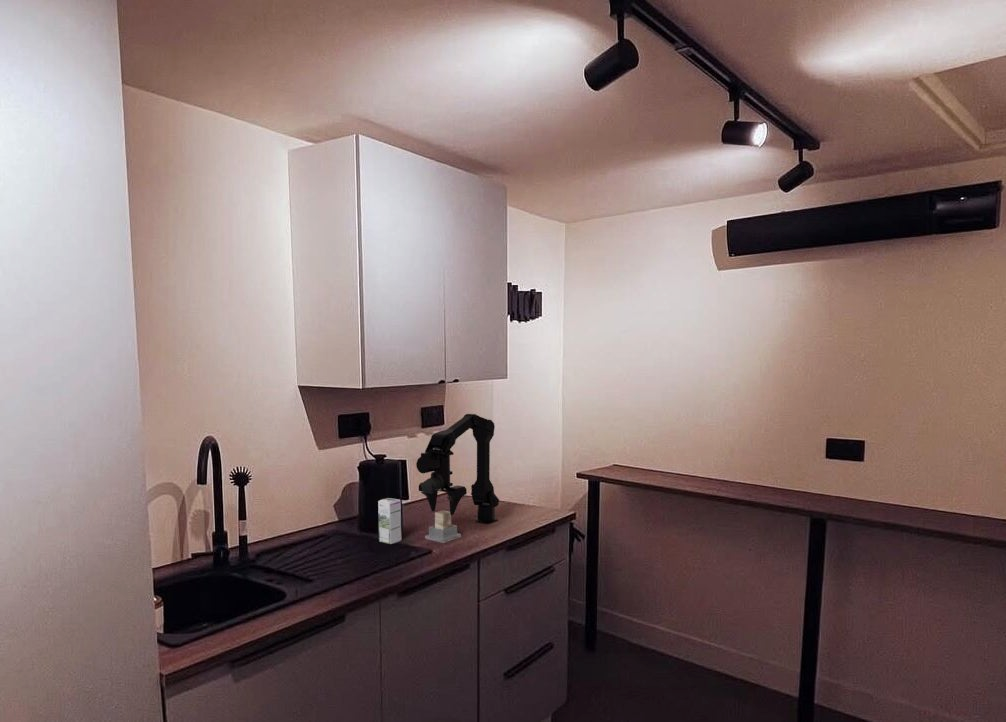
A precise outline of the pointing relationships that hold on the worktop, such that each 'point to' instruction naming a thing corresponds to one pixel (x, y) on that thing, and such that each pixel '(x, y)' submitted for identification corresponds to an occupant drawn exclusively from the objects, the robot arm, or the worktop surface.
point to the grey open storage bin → (443, 534)
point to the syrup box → (389, 520)
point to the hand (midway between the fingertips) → (442, 513)
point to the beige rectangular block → (442, 519)
